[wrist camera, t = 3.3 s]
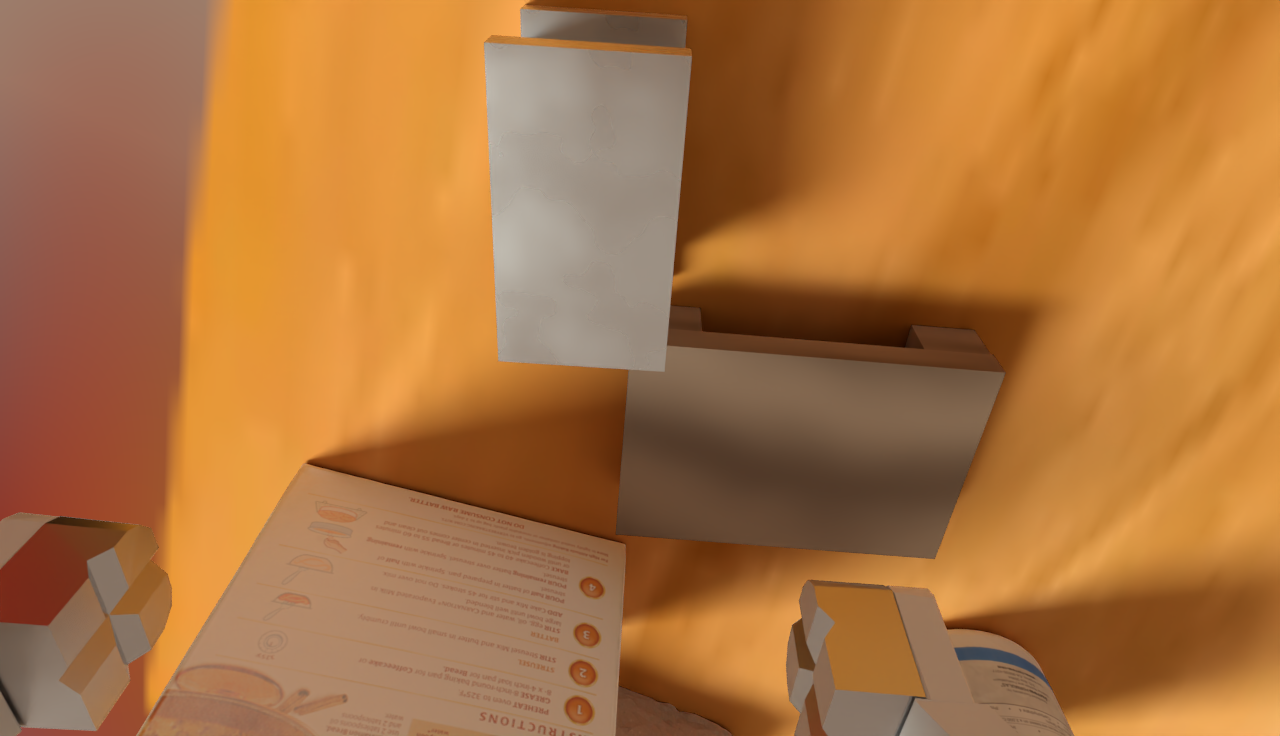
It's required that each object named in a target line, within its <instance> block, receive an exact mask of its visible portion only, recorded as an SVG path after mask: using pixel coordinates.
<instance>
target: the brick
mask: <svg viewBox="0 0 1280 736" xmlns="http://www.w3.org/2000/svg"><path fill="white" fill-rule="evenodd" d="M615 736H733V735H732V734H731V733H730V732H729V731H727V730H726V729H724V728H722V727H720V726H719V725H718V724H715V723H713V722H711V721H709V720H707V719H704V718H702V717H700V716H698V715H696V714H693V713H688V712H679V711H677V710H676V708H675V706H673V705H671V704H669V703H660V702H657V701H655V700H654V699H652V698H650V697H647V696H644V695H641V694H639V693H636V692H633V691H630V690H628V689H626V688H623V687H620V686H618V699H617V715H616V732H615Z"/></svg>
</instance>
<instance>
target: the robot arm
mask: <svg viewBox="0 0 1280 736" xmlns="http://www.w3.org/2000/svg"><path fill="white" fill-rule="evenodd" d="M158 548H159V547H158V544H157V542H156V539H155V537H154V534H153V532H152V529H151V528H149V527H146V526H142V525H136V524H127V523H118V522H109V521H100V520H90V519H81V518H72V517H63V516H60V517H57V516H47V515H37V514H28V513H17V514H15V515H12V516H9V517H7V518H4V519H3V520H2V521H0V736H16V735H17V734H18V733H20V732H21V730H22V729H21V728H20V727H31V728H32V727H33V728H51V729H71V730H91V731H97V730H98V728H99V727H100V725H101V724H102V722H103V721H104V719H105V718H106V716H107V715H108V713H109V712H110V710H111V709H112V707H113V705H114V704H115V703H116V701H117V700H118V698H119V697H120V695H121V694H122V693H123V691H124V689H125V688H126V686H127V685H128V684H129V682H130V676H129V669H128V664H129V663H131V662H132V661H134V660H135V659H137V658H138V657H140V656H142V655H143V654H145V653H147V652H148V651H150V650H151V649H152V648H153V646H154V645H155V643H156V641H157V640H158V638H159V637H160V635H161V634H162V632H163V630H164V628H165V625H166V622H167V619H168V616H169V613H170V609H171V606H172V587H171V584H170V581H169V577H168V574H167V573H166V572H165V571H164V570H162V569H161V568H160V567H159V566H158V565H157V564H155V563H154V562H153V561H152V560H151V558H152V557H153V555H154V554H155V552H156V551H157V550H158ZM799 604H800V609H801V615H802V618H801V619H800V620H798V621H797V622H796V623H794V624H793V625H792V628H791V632H790V637H789V641H788V648H787V661H786V671H787V685H788V693H789V700H790V702H791V703H792V704H793V705H794V707H795V708H796V709H797V710H798V711H799V712H800V713H801V714H800V717H799V721H798V724H797V727H796V731H795V736H1020V735H1019V734H1018V733H1017V732H1016V731H1015V730H1014V729H1013V728H1012V727H1011V726H1010V725H1009V724H1008V723H1007V722H1006V721H1004V720H1003V719H1002V718H1001V717H1000V716H999V715H998V714H997V713H996V712H995V711H994V710H993V709H992V708H991V707H990V706H988V705H987V704H979V703H975V702H974V700H973V697H972V694H971V692H970V689H969V686H968V684H967V681H966V679H965V676H964V673H963V671H962V668H961V665H960V663H959V660H958V658H957V655H956V652H955V650H954V647H953V644H952V642H951V639H950V636H949V634H948V631H947V629H946V626H945V623H944V621H943V618H942V615H941V613H940V610H939V608H938V605H937V602H936V600H935V597H934V595H933V594H932V593H931V592H930V591H929V590H928V589H926V588H912V587H899V586H886V587H885V586H884V585H874V584H860V583H846V582H832V581H819V580H807V582H806V583H805V585H804V586H803V589H802V592H801V596H800V599H799Z"/></svg>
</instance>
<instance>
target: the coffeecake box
mask: <svg viewBox="0 0 1280 736" xmlns="http://www.w3.org/2000/svg"><path fill="white" fill-rule="evenodd" d="M625 566H626V545H625V544H623V543H619V542H615V541H611V540H606V539H602V538H598V537H594V536H590V535H586V534H582V533H578V532H574V531H570V530H566V529H563V528H559V527H555V526H551V525H547V524H543V523H539V522H534V521H530V520H527V519H523V518H519V517H515V516H511V515H507V514H503V513H499V512H495V511H491V510H487V509H483V508H479V507H475V506H471V505H467V504H463V503H459V502H455V501H451V500H447V499H444V498H440V497H436V496H432V495H428V494H424V493H420V492H416V491H412V490H408V489H404V488H400V487H396V486H392V485H387V484H383V483H380V482H376V481H373V480H369V479H364V478H360V477H356V476H352V475H349V474H344V473H340V472H336V471H332V470H329V469H325V468H321V467H316V466H313V465H309V464H306V463H305V464H303V465H302V466H301V468H300V469H299V471H298V472H297V474H296V475H295V477H294V478H293V480H292V481H291V483H290V484H289V486H288V487H287V489H286V491H285V492H284V494H283V496H282V497H281V499H280V501H279V502H278V504H277V505H276V507H275V509H274V510H273V512H272V514H271V515H270V517H269V518H268V520H267V522H266V523H265V525H264V527H263V528H262V530H261V532H260V533H259V535H258V537H257V538H256V540H255V542H254V544H253V545H252V547H251V549H250V550H249V552H248V554H247V555H246V557H245V559H244V560H243V562H242V564H241V565H240V567H239V569H238V570H237V572H236V574H235V575H234V577H233V579H232V580H231V582H230V583H229V585H228V587H227V588H226V590H225V591H224V593H223V595H222V596H221V598H220V600H219V601H218V603H217V604H216V606H215V608H214V609H213V611H212V612H211V614H210V616H209V617H208V619H207V621H206V622H205V624H204V625H203V627H202V629H201V630H200V632H199V634H198V635H197V637H196V638H195V640H194V642H193V643H192V645H191V647H190V648H189V650H188V651H187V653H186V655H185V656H184V658H183V660H182V661H181V663H180V665H179V666H178V668H177V669H176V671H175V673H174V674H173V676H172V678H171V679H170V681H169V683H168V684H167V686H166V687H165V689H164V691H163V692H162V694H161V696H160V697H159V699H158V701H157V702H156V704H155V706H154V707H153V709H152V711H151V712H150V714H149V716H148V717H147V719H146V721H145V722H144V724H143V726H142V727H141V729H140V730H139V732H138V734H137V735H136V736H615V732H616V715H617V699H618V682H619V666H620V649H621V633H622V617H623V600H624V583H625Z"/></svg>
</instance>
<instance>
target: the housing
mask: <svg viewBox="0 0 1280 736" xmlns="http://www.w3.org/2000/svg"><path fill="white" fill-rule="evenodd" d="M686 31H687V15H674V14H659V13H644V12H629V11H614V10H599V9H584V8H569V7H554V6H539V5H524V6H523V7H522V8H521V37H512V36H497V35H492V36H491V37H489V38H488V39H487V40H486V41H485V42H484V51H485V73H486V95H487V117H488V139H489V162H490V184H491V206H492V228H493V251H494V273H495V295H496V317H497V339H498V361H505V362H521V363H536V364H551V365H567V366H582V367H598V368H613V369H629V370H644V371H660V372H665V360H666V349H667V337H668V326H669V314H670V303H671V292H672V280H673V269H674V257H675V246H676V234H677V223H678V212H679V200H680V189H681V177H682V166H683V154H684V143H685V131H686V120H687V109H688V97H689V86H690V74H691V63H692V52H691V48H685V43H686Z"/></svg>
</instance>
